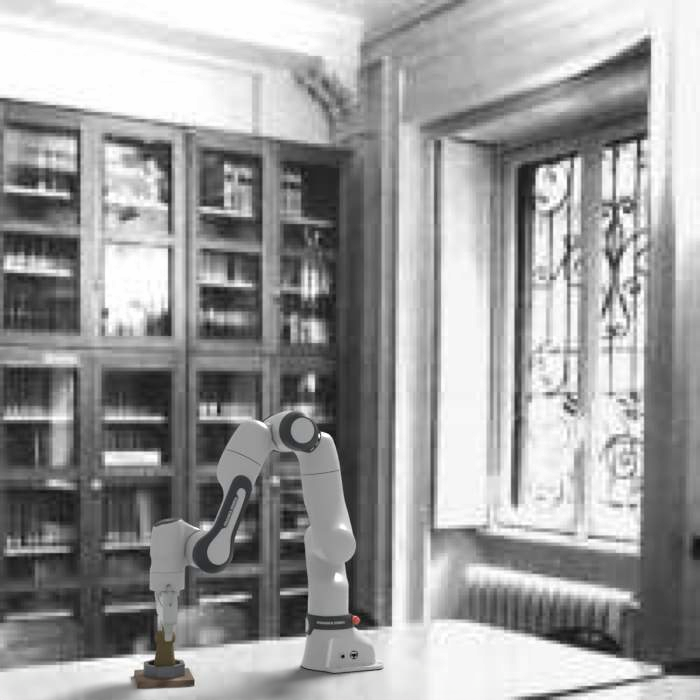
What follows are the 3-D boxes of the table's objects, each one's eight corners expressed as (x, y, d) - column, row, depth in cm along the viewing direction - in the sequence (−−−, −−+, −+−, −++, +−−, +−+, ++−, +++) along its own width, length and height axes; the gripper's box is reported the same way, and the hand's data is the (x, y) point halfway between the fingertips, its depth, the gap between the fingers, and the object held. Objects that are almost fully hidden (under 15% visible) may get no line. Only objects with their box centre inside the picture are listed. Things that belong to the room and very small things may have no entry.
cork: (171, 678, 274) (172, 633, 275) (148, 676, 275) (149, 632, 276) (179, 672, 280) (181, 629, 281) (157, 671, 281) (158, 628, 282)
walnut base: (188, 673, 286) (188, 667, 286) (194, 685, 272) (194, 679, 272) (134, 675, 282) (134, 669, 283) (137, 688, 269) (137, 682, 269)
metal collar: (181, 669, 284) (182, 658, 284) (185, 678, 274) (186, 666, 274) (142, 671, 281) (142, 659, 281) (145, 679, 271) (145, 667, 272)
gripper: (183, 587, 270) (183, 644, 269) (175, 576, 290) (175, 629, 289) (158, 588, 268) (157, 645, 267) (151, 577, 288) (150, 630, 287)
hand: (166, 637), depth 278 cm, fingers open, 8 cm apart
